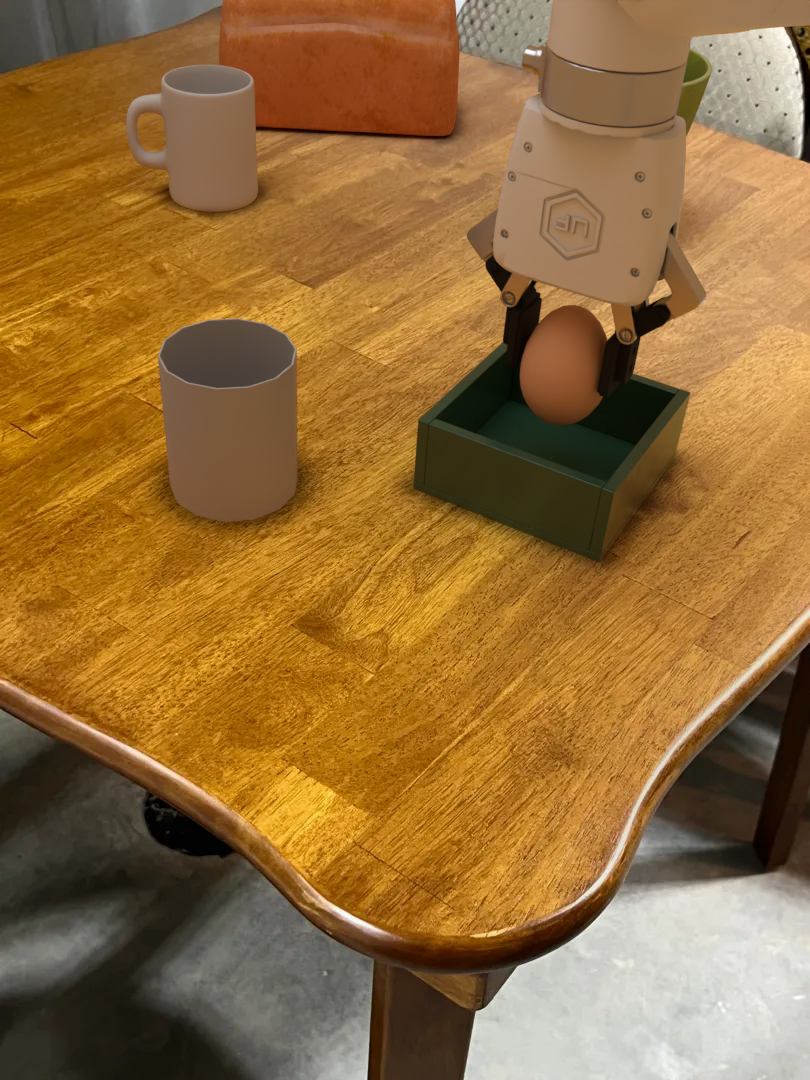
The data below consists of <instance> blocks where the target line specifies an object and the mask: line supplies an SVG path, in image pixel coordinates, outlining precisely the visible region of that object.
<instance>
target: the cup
mask: <svg viewBox="0 0 810 1080" xmlns="http://www.w3.org/2000/svg"><path fill="white" fill-rule="evenodd" d="M297 359H298V349H297V347H296V345H295V344H294V342H293V341H292V340H291V338H290V337H289V336H288V334H287V333H286V332H283V331H281V330H279V329H277V328H276V327H274V326H271V325H269V324H268V323H264V322H260V321H254V320H249V319H243V318H238V317H237V318H219V319H218V318H217V319H215V318H214V319H207V320H203V321H199V322H195V323H191V324H188V325H185V326H182V327H180V328H179V329H177V331H175V332H173V333H171V334H170V335H169V336H168V337H166V338H165V339H163V341H162V344H161V346H160V349H159V351H158V354H157V363H158V373H159V374H158V375H159V383H160V393H161V394H160V395H161V405H162V413H163V414H162V415H163V426H164V427H163V428H164V436H165V447H166V455H167V466H168V467H167V468H168V477H169V488H170V489H171V492H172V494H173V496H174V498H175V500H176V503H177V505H180V506H181V507H183V508H185V509H186V510H187V511H189V512H191V513H192V514H193V515H195V516H196V517H201V518H205V519H209V520H215V521H218V522H222V523H227V522H228V523H229V522H240V521H241V522H242V521H254V520H256V519H259V518H262V517H265V516H267V515H270V514H272V513H275V512H277V511H280V510H282V508H283V507H284V506H285V505H286V504H287V503H288V502H289V501H290V500H291V499H292V498H293V497H294V496H295V494H296V490H297V484H298V477H299V476H298V475H299V474H298V473H299V471H298V468H299V467H298V360H297Z"/></svg>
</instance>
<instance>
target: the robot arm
mask: <svg viewBox="0 0 810 1080" xmlns="http://www.w3.org/2000/svg"><path fill="white" fill-rule="evenodd" d="M551 4H552V5H551V12H550V20H549V27H548V28H549V29H548V35H547V40H548V42H547V43H545V44H544V45H543V44H542V45H540V46H535V45H531V44H528V45H527V46H526V48H525V49H524V52H523V54H522V59H521V67H522V69H523V70H524V71H528V72H532V73H533V75H534V76H536V77H538V87H537V94H535V95H533V96H531V97H529V98H527V99H526V100H525V102H524V105H523V108H522V111H521V113H520V117H519V119H518V123H517V126H516V129H515V133H514V137H513V140H512V144H511V148H510V152H509V156H508V159H507V164H506V167H505V172H504V176H503V180H502V186H501V191H500V196H499V201H498V207H497V208H495V209H494V211H492V212H491V213H489V214H488V215H487V216H485V217H484V218H483V219H482V220H480V221H478V223H476V224H475V225H474V226H473V227H471V228H470V229H469V230H467V232H466V239H467V241H468V242H469V244H470V245H471V247H472V248H473V249H474V251H475V252H476V254H477V255H478V257H479V258H480V259H481V261H484V263H485V265H484V266H485V270H486V271H487V273H488V274H489V276H490V277H491V279H492V281H493V282H494V284H495V285H496V287H497V288H498V290H499V291H500V292H501V293H500V296H499V297H500V301H501V303H502V305H504V306H505V307H506V311H505V318H504V327H503V335H502V342H503V343H504V344H507V352H506V360H505V363H506V364H508V365H511V366H514V365H518V364H519V363H520V362H521V360H522V355H523V352H524V349H525V346H526V343H527V341H528V339H529V338H530V336H531V334H532V333H533V331H534V329H535V328H536V326H537V325H538V324H539V323H540V317H541V311H542V303H543V298H542V297H541V294H542V293H541V292H539V291H537V289H536V287H537V285H538V284H539V283H540V284H543V285H547V286H550V287H553V288H556V289H560V290H562V291H565V292H568V293H573V294H576V295H579V296H583V297H585V298H589V299H592V300H596V301H599V302H601V303H606V304H610V307H611V312H612V313H611V314H612V318H613V323H614V328H615V329H614V333H613V334H611V336H610V337H609V338H607V342H606V346H605V351H604V356H603V362H602V367H601V373H600V378H599V383H598V389H597V393H599V395H600V396H602V397H605V398H608V397H609V396H610V395H611V394H612V392H613V391H614V390H615V389H616V388H617V387H618V386H619V384H620V383H624V384H626V383H627V382H628V381H629V380H630V378H631V376H632V374H634V371H635V367H636V363H637V358H638V354H639V353H638V352H639V347H640V343H641V339H642V337H643V336H646V335H647V334H649V333H652V332H653V331H655V330H656V329H658V328H661V327H662V326H664V325H665V324H666V323H669V322H670V321H672V320H676V319H677V318H679V317H681V316H684V315H686V314H688V313H690V312H692V311H694V310H696V309H697V308H698V307H700V305H701V304H702V303H703V301H704V300H705V299H706V297H707V292H706V289H705V288H704V286H703V285H702V283H701V281H700V279H699V277H698V275H697V274H696V272H695V271H694V269H693V267H692V265H691V263H690V262H689V260H688V258H687V256H686V254H685V253H684V251H683V249H682V248H681V246H680V244H679V242H678V237H679V231H680V224H681V218H682V217H681V216H682V211H683V210H682V208H683V202H684V192H685V178H686V160H687V159H686V158H687V136H686V123H685V120H684V118H682V117H680V116H677V115H676V114H677V110H678V105H679V100H680V95H681V90H682V85H683V80H684V75H685V70H686V65H687V58H688V54H689V50H690V48H691V42H692V40H693V38H697V37H705V36H706V37H707V36H717V35H729V34H738V33H744V32H750V31H754V30H764V29H775V28H788V27H801V26H802V27H803V26H810V0H552V3H551ZM663 280H665V282H666V284H667V286H668V287H669V289H670V292H671V294H669V295H667V296H662V297H660V298H658V299H657V300H655V301H653V302H652V303H650V298H649V297H650V296H651V294H652V293H653V291H654V290H655V287H656V285H657V282H659V281H663Z"/></svg>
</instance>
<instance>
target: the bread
mask: <svg viewBox="0 0 810 1080" xmlns="http://www.w3.org/2000/svg"><path fill="white" fill-rule="evenodd" d="M221 4H222V5H221V13H220V14H221V15H220V16H221V21H220V23H219V24H220V25H219V38H218V39H219V41H218V65H220V66H227V67H232V68H236V69H240V70H242V71H244V72H246V73H248V74H249V75H250V76H251V77H252V78H253V80H254V89H255V120H256V128H271V129H272V128H275V129H295V130H296V129H299V130H311V131H312V130H314V131H332V132H353V133H354V132H357V133H373V134H389V135H391V134H392V135H404V136H405V135H407V136H422V137H423V136H424V137H425V136H426V137H436V136H437V137H445V136H450V135H451V134H452V133H453V131H454V130H455V129H454V128H455V125H456V119H457V114H458V113H457V111H458V102H459V101H458V98H459V97H458V96H459V74H460V54H461V53H460V34H459V30H458V25H457V15H458V14H457V6H456V5H457V4H456V0H222V3H221Z"/></svg>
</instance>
